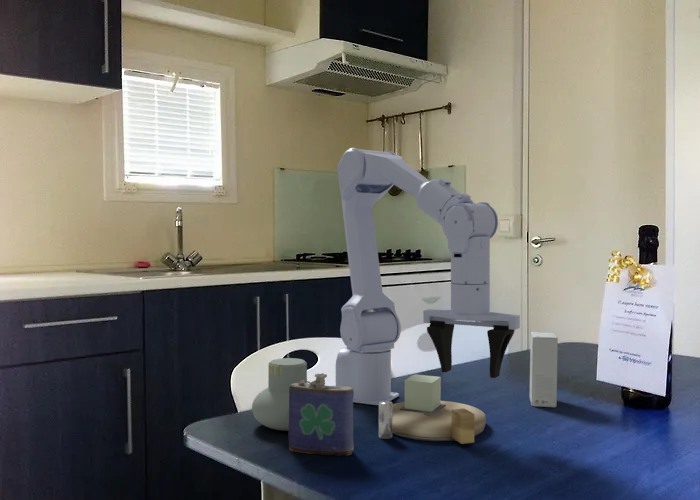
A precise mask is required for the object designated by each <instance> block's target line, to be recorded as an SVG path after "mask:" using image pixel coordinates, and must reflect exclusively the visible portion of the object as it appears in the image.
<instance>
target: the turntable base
mask: <svg viewBox="0 0 700 500" xmlns="http://www.w3.org/2000/svg"><path fill="white" fill-rule="evenodd" d="M393 404H394V403H393V402H392V401H381V402H379V405H378V438H379V439H381V440H388V439H389V440H390V439H392V438H393V435H395V436H398V437H401V438H404V439H409V440H416V441H423V442H424V441H425V442H426V441H427V442H454V441H455V442H457V441H456V440H455V439H453V438H451V437H446V438H433V437H420V436H412V435H407V434H402V433H399V432H396V431H393V430H392V407H393ZM484 430H485V427H484V428H483V429H482V430H481V431H479V432H476V433H474V438H475V437H477V436H479V435H480V434H482V433H483V432H484Z"/></svg>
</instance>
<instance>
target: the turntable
mask: <svg viewBox="0 0 700 500" xmlns="http://www.w3.org/2000/svg"><path fill="white" fill-rule="evenodd" d="M485 427H486V414H485V413H484V411H482V410H481V409H479V408H477V407H475V406H472V405H469V404H466V403H461V402H455V401H447V400H441V405H440V406H438V407H437V408H436V409H435V410H433V411H432V412H430V411H422V410H414V409H406V408H405V401H400V402H395V403H393V407H392V430H393V431H396V432H399V433H402V434H407V435H412V436H420V437H433V438H446V437H451V438H453V439H455V440H456V441H455V442H458V443H459V444H461V445H464V444H472V443H473V444H474V443H475V437H474V433H476V432H479V431H481V430H482V429H483V428H484V429H485Z"/></svg>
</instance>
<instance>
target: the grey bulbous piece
mask: <svg viewBox="0 0 700 500" xmlns="http://www.w3.org/2000/svg"><path fill="white" fill-rule="evenodd" d="M307 370H308V363H307V361H305V359H302V358H295V357H294V358H293V357H285V358H284V357H283V358H276V359H275V358H274V359H272V360H270V361H269V363H268V382H267V383H268V387H267V388H265V389H263V390H262V391H260V392H258V394H257V395H256V396H255V398H254V399H253V401H252V404H251V413H252V415H253V417H254V418H255V420H256V421H257V422H259V423H260V425H262V426H264V427H266V428H269V429H271V430H276V431H283V432H289V388H290V385H291V384H294V383H299V382H301V381H303V380H305V382H304V383H307V381H308V371H307Z"/></svg>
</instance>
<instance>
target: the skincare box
mask: <svg viewBox="0 0 700 500" xmlns="http://www.w3.org/2000/svg"><path fill="white" fill-rule="evenodd" d="M558 340H559V339H558V336H557V335H556V334H555V332H540V331H531V332H530V347H529V348H530V349H529V353H530V354H529V356H530V357H529V359H530V360H529V400H530V405H531V406H532V407H545V408H556V407H557V403H558V401H557V399H558V398H557V397H558V391H557V390H558V353H559V352H558V350H559V349H558V348H559V347H558Z"/></svg>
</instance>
